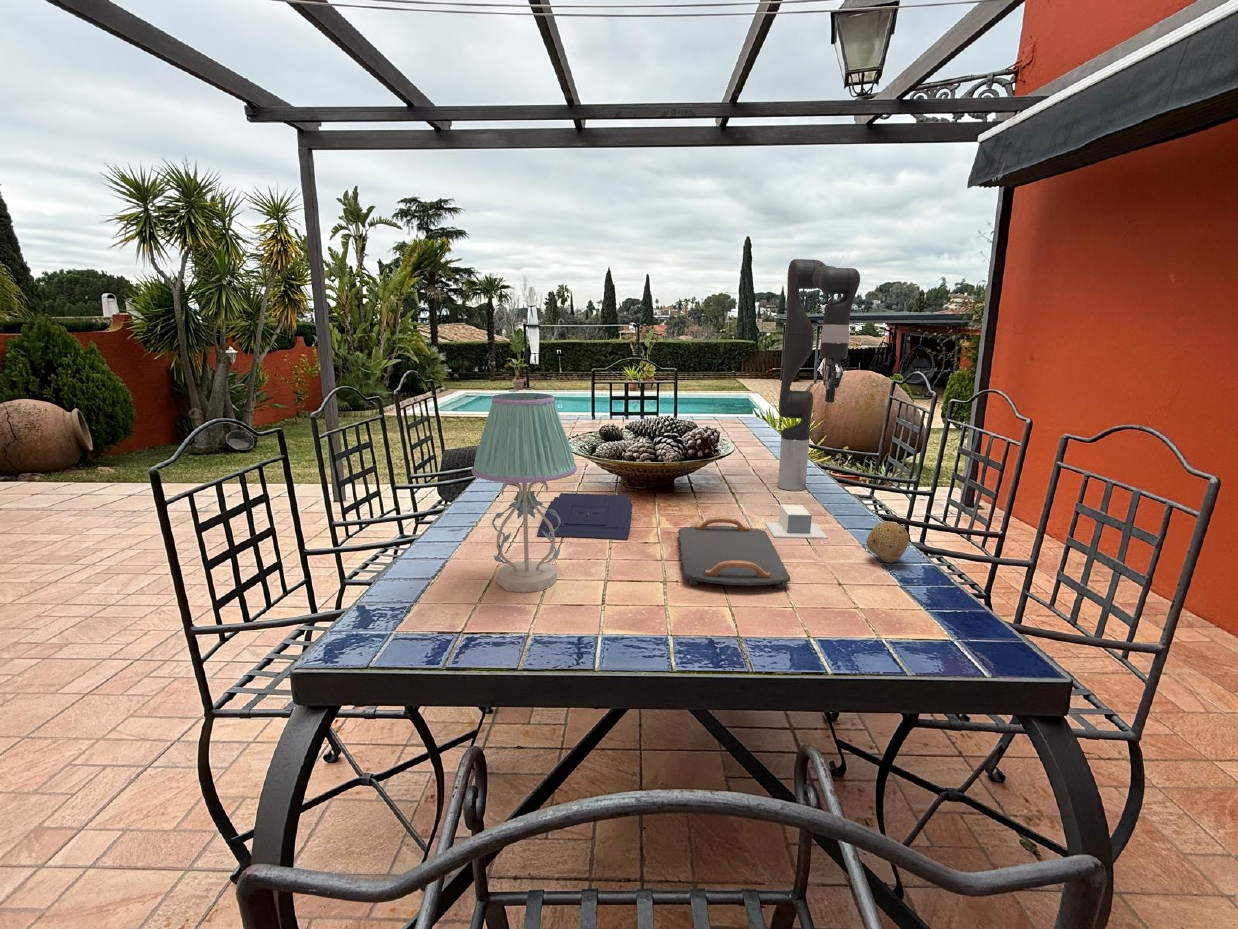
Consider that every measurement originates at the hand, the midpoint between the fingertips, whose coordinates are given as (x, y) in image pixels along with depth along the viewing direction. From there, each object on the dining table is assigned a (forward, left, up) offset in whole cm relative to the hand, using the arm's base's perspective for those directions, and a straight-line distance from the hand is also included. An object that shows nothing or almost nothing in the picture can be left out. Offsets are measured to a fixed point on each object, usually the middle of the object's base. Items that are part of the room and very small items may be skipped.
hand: (829, 402), depth 185 cm
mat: (+19, -12, -33) cm, 40 cm away
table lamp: (+57, -79, -33) cm, 103 cm away
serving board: (+42, -34, -34) cm, 63 cm away
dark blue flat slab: (+14, -69, -33) cm, 78 cm away
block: (+12, -12, -30) cm, 35 cm away
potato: (+41, +4, -33) cm, 53 cm away
